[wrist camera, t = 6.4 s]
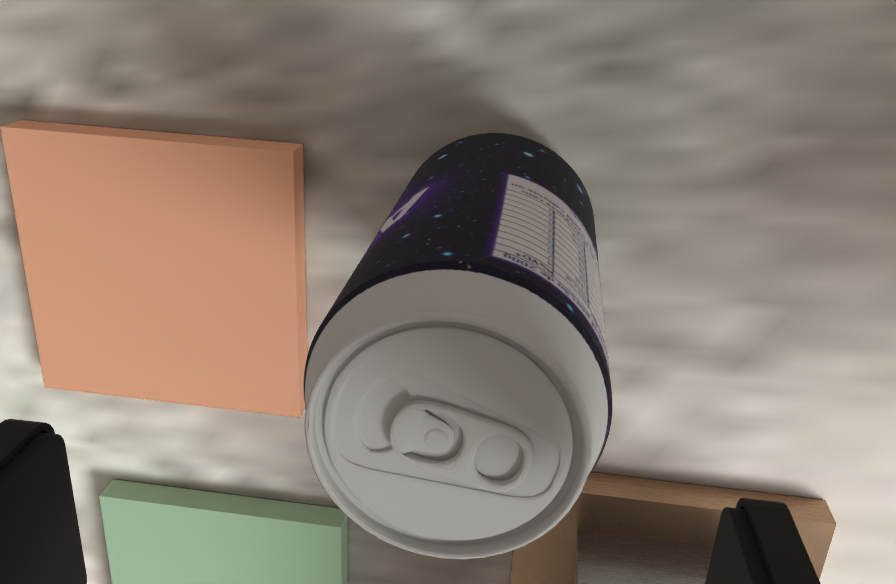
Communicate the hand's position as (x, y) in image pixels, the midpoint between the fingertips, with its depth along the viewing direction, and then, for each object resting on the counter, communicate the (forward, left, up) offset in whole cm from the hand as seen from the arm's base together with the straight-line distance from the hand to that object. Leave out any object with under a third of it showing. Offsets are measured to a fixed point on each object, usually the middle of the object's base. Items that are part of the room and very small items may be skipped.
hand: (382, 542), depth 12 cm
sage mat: (+18, +4, -15) cm, 23 cm away
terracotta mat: (+9, -6, -15) cm, 18 cm away
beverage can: (0, 0, -15) cm, 15 cm away
